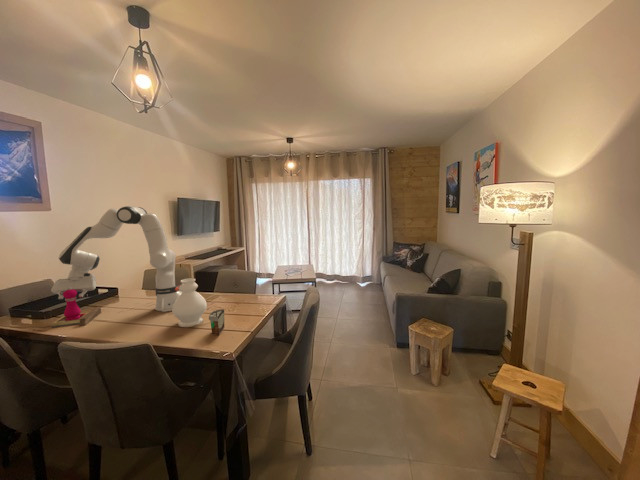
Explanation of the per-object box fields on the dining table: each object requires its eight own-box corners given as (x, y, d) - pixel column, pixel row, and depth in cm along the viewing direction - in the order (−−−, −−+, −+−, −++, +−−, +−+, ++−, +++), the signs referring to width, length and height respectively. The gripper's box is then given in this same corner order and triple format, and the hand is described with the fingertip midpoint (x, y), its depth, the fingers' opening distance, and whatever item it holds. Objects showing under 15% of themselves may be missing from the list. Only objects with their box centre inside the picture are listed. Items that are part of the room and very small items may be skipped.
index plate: (91, 315, 162) (91, 311, 162) (80, 323, 150) (80, 319, 150) (65, 318, 158) (64, 315, 157) (51, 327, 145) (51, 323, 145)
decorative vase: (202, 327, 142) (200, 283, 140) (167, 330, 139) (164, 285, 137) (211, 315, 160) (208, 275, 157) (180, 317, 157) (177, 277, 154)
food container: (213, 326, 143) (212, 309, 142) (225, 326, 144) (224, 308, 143) (206, 337, 131) (204, 318, 130) (218, 336, 131) (217, 317, 130)
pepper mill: (71, 322, 150) (67, 289, 148) (61, 321, 151) (57, 288, 149) (84, 317, 157) (81, 285, 155) (75, 317, 158) (71, 285, 156)
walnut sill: (101, 312, 167) (100, 306, 166) (85, 325, 148) (84, 318, 147) (96, 313, 166) (96, 307, 165) (80, 325, 147) (79, 319, 147)
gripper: (53, 276, 155) (44, 297, 147) (95, 273, 162) (89, 293, 154) (58, 282, 160) (50, 302, 152) (99, 278, 167) (93, 298, 159)
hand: (70, 297), depth 153 cm, fingers open, 8 cm apart
